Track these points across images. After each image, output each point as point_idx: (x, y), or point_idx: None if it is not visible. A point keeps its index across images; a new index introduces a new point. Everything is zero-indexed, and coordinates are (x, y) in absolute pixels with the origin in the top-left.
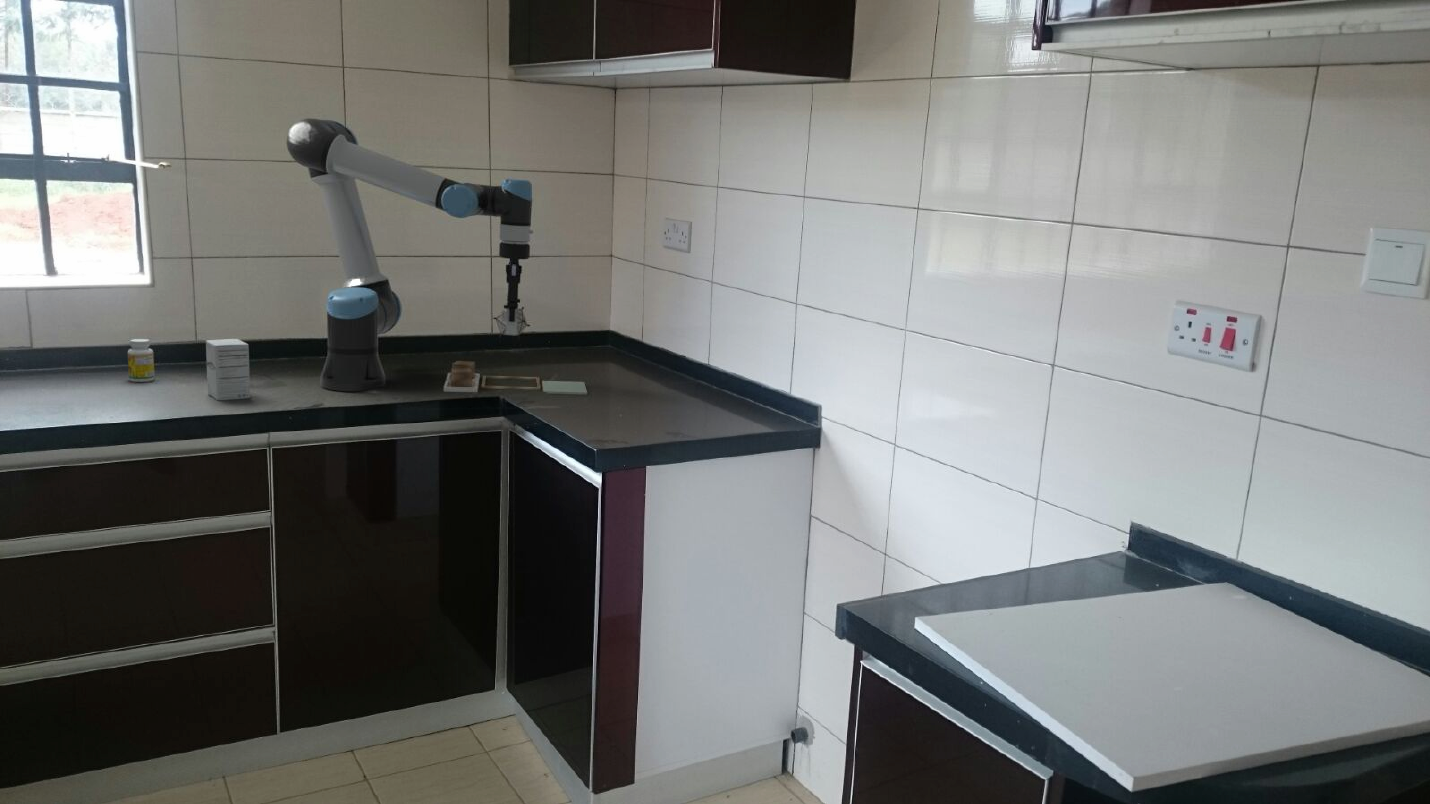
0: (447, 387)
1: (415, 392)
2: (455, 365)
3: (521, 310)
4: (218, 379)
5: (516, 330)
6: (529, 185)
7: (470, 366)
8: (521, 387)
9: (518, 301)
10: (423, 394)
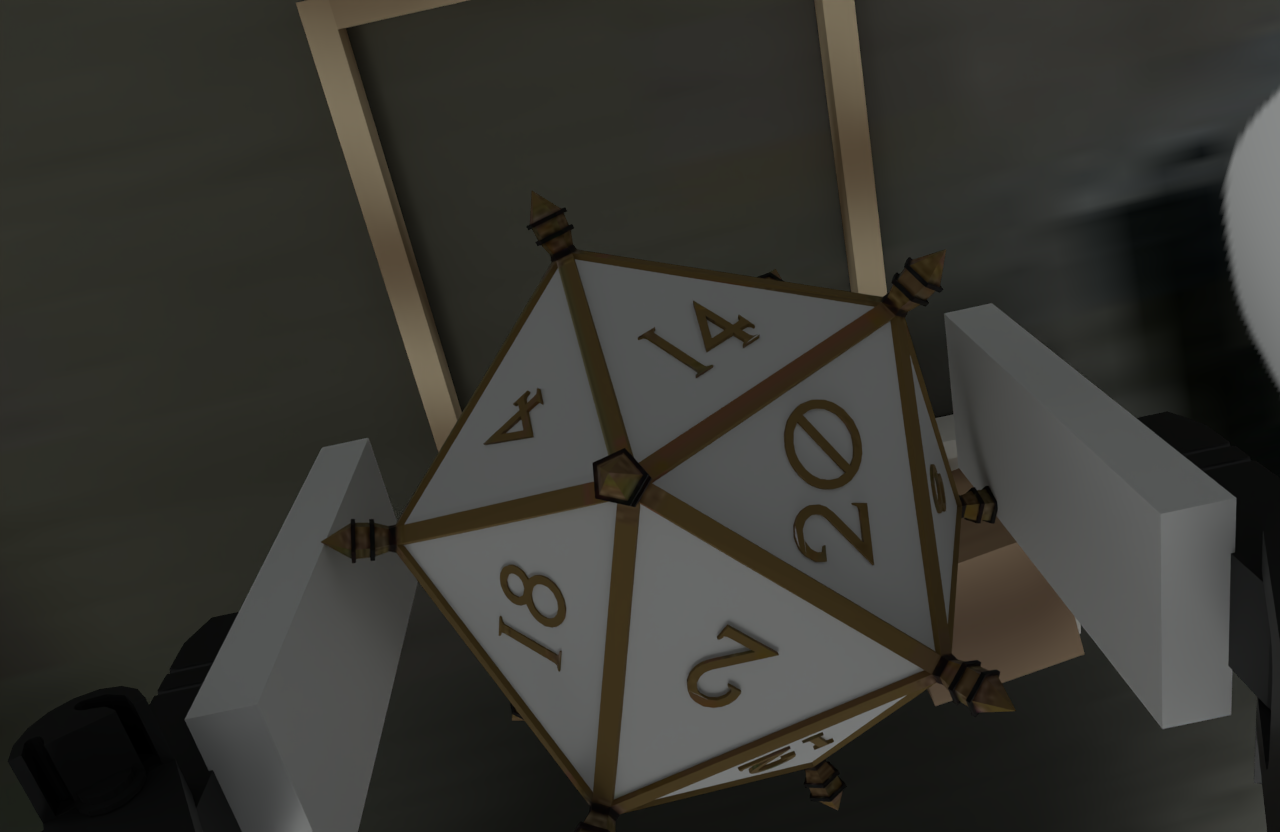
0: None
1: (1047, 758)
2: None
3: (671, 474)
4: None
5: (1019, 330)
6: None
7: None
8: (859, 80)
9: (147, 737)
10: (1100, 703)
